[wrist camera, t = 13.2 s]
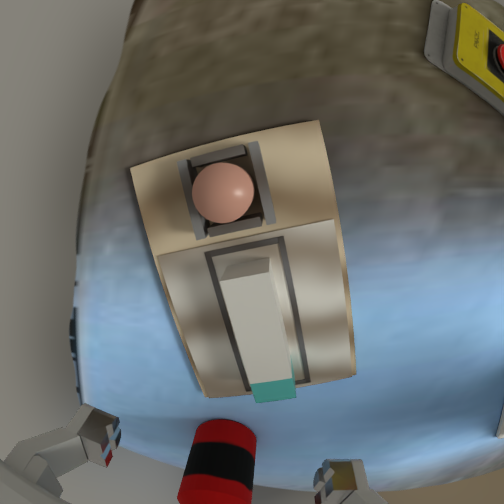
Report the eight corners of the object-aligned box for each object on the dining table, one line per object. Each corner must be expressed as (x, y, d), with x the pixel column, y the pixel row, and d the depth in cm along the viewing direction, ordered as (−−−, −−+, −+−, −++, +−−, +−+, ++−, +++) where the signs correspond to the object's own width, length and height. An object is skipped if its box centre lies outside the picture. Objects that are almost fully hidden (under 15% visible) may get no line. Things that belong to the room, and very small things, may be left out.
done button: (260, 210, 22) (258, 216, 20) (209, 221, 23) (200, 228, 20) (248, 158, 22) (244, 156, 19) (196, 171, 22) (185, 171, 19)
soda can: (269, 438, 32) (265, 519, 20) (229, 458, 33) (217, 530, 22) (222, 408, 31) (204, 494, 19) (184, 432, 32) (160, 506, 21)
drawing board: (354, 369, 28) (361, 389, 25) (206, 392, 30) (200, 412, 27) (317, 121, 22) (323, 114, 19) (133, 168, 24) (116, 168, 21)
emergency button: (546, 133, 16) (441, 45, 16) (520, 134, 20) (420, 59, 20) (548, 66, 14) (448, -19, 13) (526, 72, 18) (430, -2, 18)
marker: (269, 257, 24) (269, 272, 21) (294, 373, 27) (296, 397, 24) (226, 265, 25) (219, 281, 21) (258, 378, 28) (255, 403, 24)
